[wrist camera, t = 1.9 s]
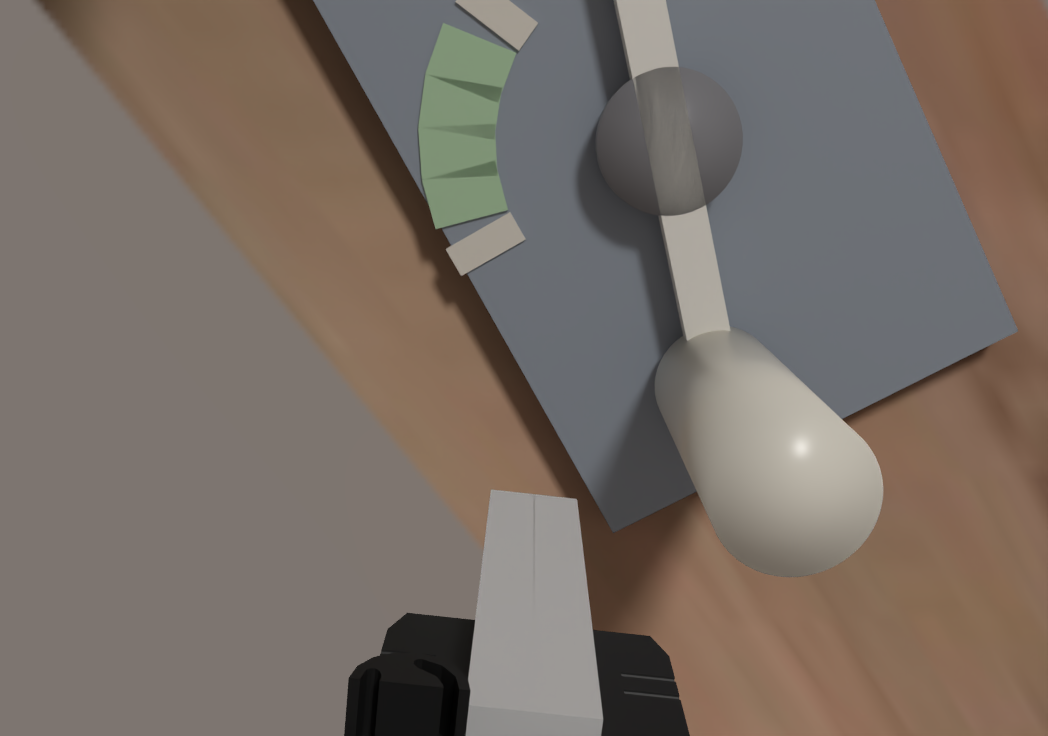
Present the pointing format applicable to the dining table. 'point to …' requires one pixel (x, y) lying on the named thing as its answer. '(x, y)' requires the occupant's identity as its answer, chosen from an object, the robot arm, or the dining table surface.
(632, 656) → the robot arm
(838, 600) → the dining table surface
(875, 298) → the dial plate
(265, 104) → the dining table surface
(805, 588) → the dining table surface
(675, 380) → the needle
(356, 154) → the dining table surface
